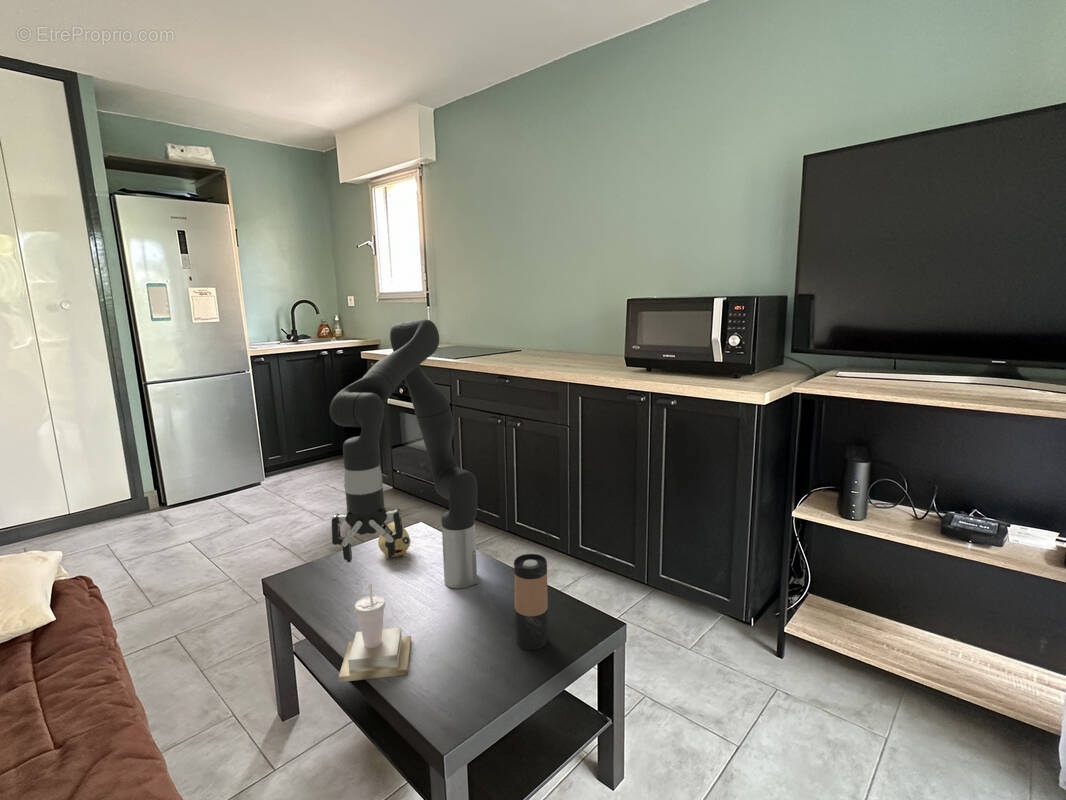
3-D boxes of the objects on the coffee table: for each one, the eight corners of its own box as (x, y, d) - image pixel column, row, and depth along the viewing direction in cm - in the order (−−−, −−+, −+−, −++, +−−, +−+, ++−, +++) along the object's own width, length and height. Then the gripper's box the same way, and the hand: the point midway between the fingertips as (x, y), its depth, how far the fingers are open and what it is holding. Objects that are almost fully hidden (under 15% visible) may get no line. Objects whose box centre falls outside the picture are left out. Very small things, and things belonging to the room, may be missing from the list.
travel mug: (552, 634, 127) (551, 556, 124) (542, 654, 120) (541, 571, 117) (522, 628, 130) (520, 551, 126) (510, 647, 123) (508, 566, 119)
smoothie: (394, 638, 120) (390, 580, 117) (374, 655, 114) (369, 595, 111) (372, 631, 122) (367, 574, 120) (351, 647, 117) (346, 588, 114)
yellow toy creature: (382, 567, 161) (380, 534, 159) (377, 551, 172) (375, 520, 170) (415, 561, 165) (413, 529, 163) (408, 545, 176) (406, 515, 174)
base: (411, 640, 126) (410, 624, 125) (407, 674, 114) (406, 656, 113) (349, 646, 124) (348, 630, 123) (338, 682, 112) (337, 664, 111)
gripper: (400, 478, 116) (405, 548, 119) (332, 483, 114) (339, 554, 117) (397, 490, 109) (402, 563, 112) (324, 495, 107) (331, 570, 110)
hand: (370, 558), depth 114 cm, fingers open, 8 cm apart
